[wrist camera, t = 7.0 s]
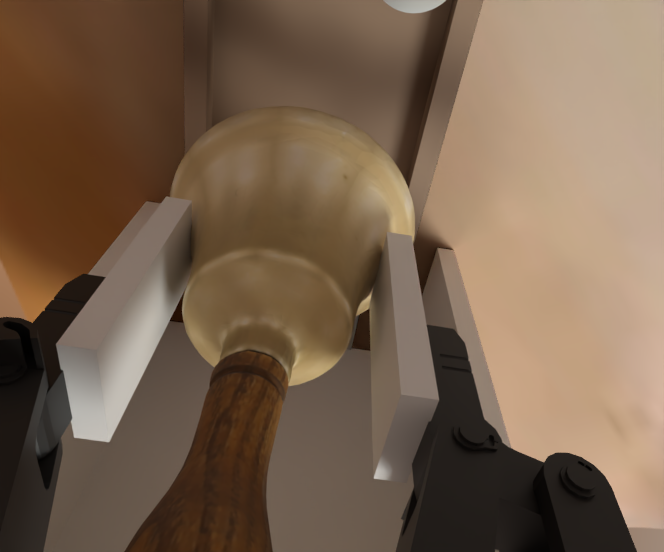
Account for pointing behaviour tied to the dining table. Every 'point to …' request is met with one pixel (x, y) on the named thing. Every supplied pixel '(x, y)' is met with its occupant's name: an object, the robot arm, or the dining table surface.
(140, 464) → the white upright box
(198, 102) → the tray
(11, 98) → the dining table surface
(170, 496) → the hand bell
